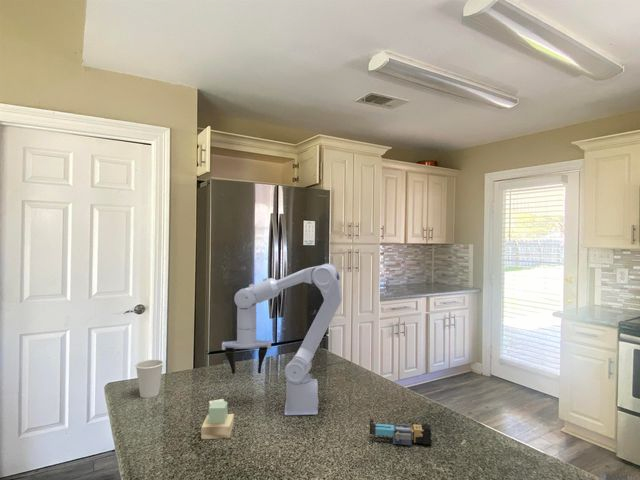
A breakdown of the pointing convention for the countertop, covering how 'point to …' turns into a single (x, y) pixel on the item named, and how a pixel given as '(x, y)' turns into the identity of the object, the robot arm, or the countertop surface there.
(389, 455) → the countertop surface
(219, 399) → the ivory block
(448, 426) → the countertop surface
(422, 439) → the toy
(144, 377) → the dixie cup
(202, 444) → the countertop surface
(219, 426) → the maple block
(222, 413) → the sage block
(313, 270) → the robot arm
